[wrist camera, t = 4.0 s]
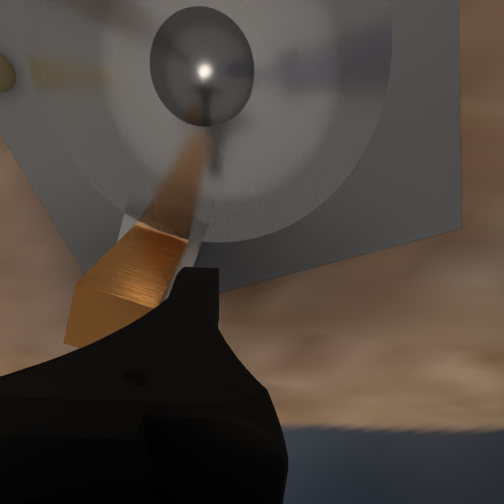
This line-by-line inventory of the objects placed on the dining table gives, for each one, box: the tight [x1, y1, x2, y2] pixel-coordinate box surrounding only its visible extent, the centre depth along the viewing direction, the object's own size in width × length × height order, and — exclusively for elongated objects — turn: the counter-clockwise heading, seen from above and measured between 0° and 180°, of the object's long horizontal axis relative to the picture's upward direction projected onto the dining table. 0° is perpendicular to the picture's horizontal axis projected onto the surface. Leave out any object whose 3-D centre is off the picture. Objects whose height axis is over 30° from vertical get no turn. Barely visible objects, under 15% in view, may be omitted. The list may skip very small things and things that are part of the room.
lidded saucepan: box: [24, 0, 392, 348], centre depth 9 cm, size 14×11×5 cm
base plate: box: [0, 0, 462, 292], centre depth 10 cm, size 16×16×3 cm
